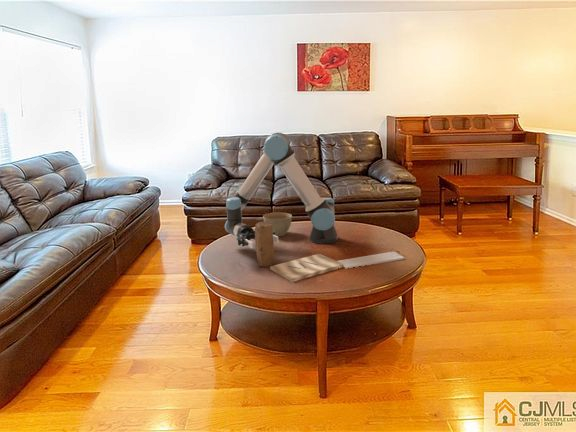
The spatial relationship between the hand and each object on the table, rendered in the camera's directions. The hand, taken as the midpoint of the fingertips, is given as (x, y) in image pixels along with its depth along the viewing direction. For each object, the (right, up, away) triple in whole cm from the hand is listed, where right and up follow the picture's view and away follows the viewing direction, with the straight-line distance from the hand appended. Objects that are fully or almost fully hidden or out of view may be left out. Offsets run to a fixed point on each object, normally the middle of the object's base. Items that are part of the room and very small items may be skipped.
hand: (265, 242), depth 215 cm
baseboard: (+49, -9, +5) cm, 50 cm away
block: (0, -10, +4) cm, 11 cm away
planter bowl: (+5, +2, +49) cm, 50 cm away
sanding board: (+19, -12, -3) cm, 22 cm away
